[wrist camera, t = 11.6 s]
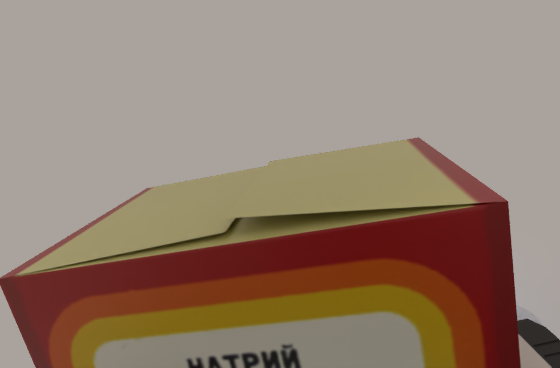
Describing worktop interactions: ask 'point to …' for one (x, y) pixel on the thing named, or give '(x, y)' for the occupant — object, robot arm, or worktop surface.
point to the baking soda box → (284, 271)
